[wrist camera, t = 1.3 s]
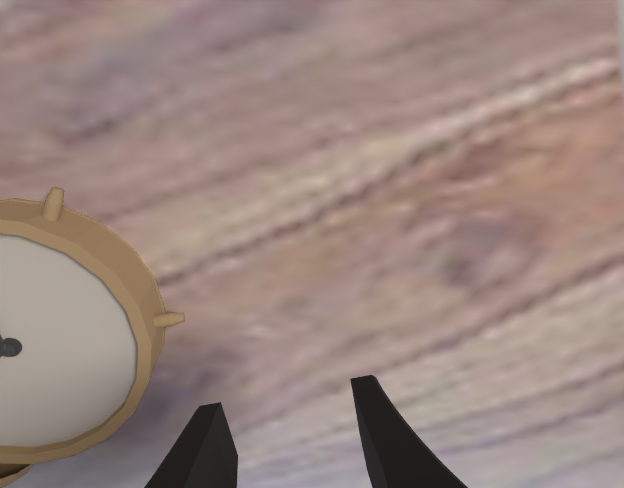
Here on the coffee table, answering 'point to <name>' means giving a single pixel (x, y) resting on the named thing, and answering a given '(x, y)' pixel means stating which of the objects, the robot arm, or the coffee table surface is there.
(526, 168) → the coffee table surface
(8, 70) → the coffee table surface
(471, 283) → the coffee table surface
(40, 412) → the alarm clock
